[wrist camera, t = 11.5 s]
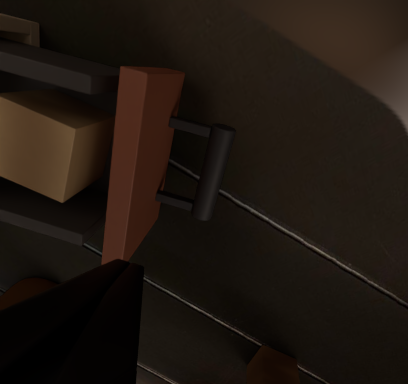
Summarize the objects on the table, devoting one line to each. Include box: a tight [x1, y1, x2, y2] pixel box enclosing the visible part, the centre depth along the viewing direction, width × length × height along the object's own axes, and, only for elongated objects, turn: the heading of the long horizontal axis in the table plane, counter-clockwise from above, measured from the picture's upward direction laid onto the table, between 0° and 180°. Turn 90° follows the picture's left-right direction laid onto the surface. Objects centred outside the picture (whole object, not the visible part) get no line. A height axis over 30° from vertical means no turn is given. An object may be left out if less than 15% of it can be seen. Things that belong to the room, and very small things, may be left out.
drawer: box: [0, 37, 236, 265], centre depth 16 cm, size 16×10×6 cm, turn 77°
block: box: [0, 89, 116, 203], centre depth 16 cm, size 4×4×4 cm
